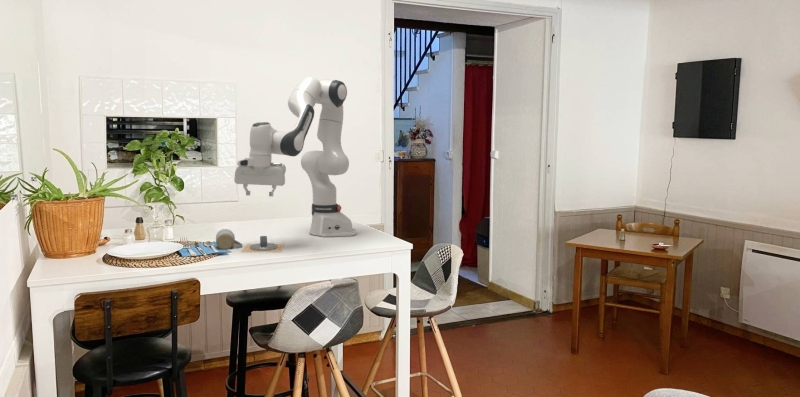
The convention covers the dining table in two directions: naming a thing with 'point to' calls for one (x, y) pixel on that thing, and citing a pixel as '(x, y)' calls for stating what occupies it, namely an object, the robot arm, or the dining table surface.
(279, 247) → the mat
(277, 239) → the dining table surface
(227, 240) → the ceramic mug
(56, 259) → the dining table surface
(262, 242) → the lid
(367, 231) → the dining table surface
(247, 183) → the robot arm
